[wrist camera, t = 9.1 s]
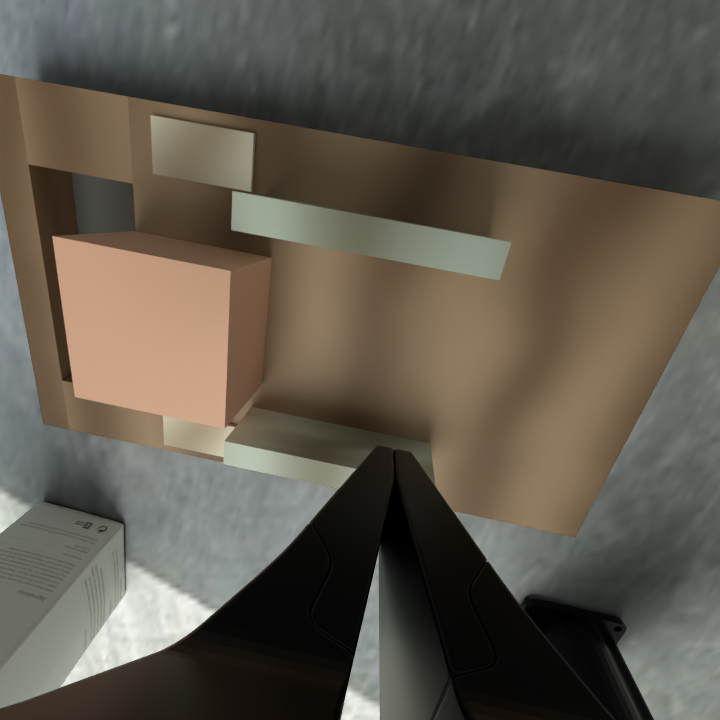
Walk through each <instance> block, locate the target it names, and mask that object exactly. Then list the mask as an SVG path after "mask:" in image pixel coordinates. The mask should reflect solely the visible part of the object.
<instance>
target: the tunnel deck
mask: <svg viewBox="0 0 720 720" xmlns="http://www.w3.org/2000/svg"><path fill="white" fill-rule="evenodd" d="M0 193H1V199H2V204H3V209H4V215H5V220H6V225H7V231H8V236H9V241H10V247H11V252H12V257H13V263H14V268H15V273H16V279H17V284H18V290H19V295H20V300H21V306H22V311H23V316H24V322H25V327H26V332H27V338H28V343H29V348H30V354H31V359H32V364H33V370H34V375H35V381H36V386H37V391H38V397H39V402H40V407H41V413H42V418H43V423H44V424H46V425H51V426H55V427H60V428H65V429H69V430H74V431H79V432H84V433H88V434H93V435H98V436H102V437H107V438H112V439H117V440H121V441H126V442H131V443H135V444H140V445H145V446H149V447H154V448H159V449H164V450H168V451H173V452H178V453H182V454H187V455H192V456H197V457H201V458H206V459H211V460H215V461H220V462H223V464H225V465H230V466H235V467H240V468H244V469H249V470H254V471H258V472H263V473H268V474H272V475H277V476H282V477H287V478H291V479H296V480H301V481H305V482H310V483H315V484H319V485H324V486H329V487H334V488H338V489H339V488H340V487H341V486H342V485H343V483H344V482H345V481H346V480H347V479H348V478H349V477H350V475H351V474H352V473H353V472H354V471H355V470H356V468H357V467H358V466H359V465H360V464H361V463H362V462H363V460H364V459H365V458H366V457H367V456H368V455H369V453H370V452H371V451H372V450H373V449H374V448H375V447H376V446H377V445H381V446H386V447H391V448H393V450H395V449H401V450H406V451H410V452H412V454H413V455H414V456H415V458H416V459H417V461H418V462H419V463H420V465H421V466H422V468H423V469H424V471H425V472H426V473H427V475H428V476H429V478H430V479H431V481H432V482H433V483H434V485H435V486H436V488H437V489H438V491H439V492H440V493H441V495H442V496H443V498H444V499H445V501H446V502H447V503H448V505H449V506H450V508H451V509H452V510H453V511H455V512H460V513H465V514H469V515H474V516H479V517H484V518H488V519H493V520H498V521H502V522H507V523H512V524H517V525H521V526H526V527H531V528H535V529H540V530H545V531H549V532H554V533H559V534H564V535H568V536H573V537H576V535H577V533H578V531H579V529H580V527H581V525H582V524H583V522H584V520H585V518H586V516H587V514H588V512H589V510H590V509H591V507H592V505H593V503H594V501H595V499H596V497H597V495H598V493H599V492H600V490H601V488H602V486H603V484H604V482H605V480H606V478H607V477H608V475H609V473H610V471H611V469H612V467H613V465H614V463H615V462H616V460H617V458H618V456H619V454H620V452H621V450H622V448H623V446H624V445H625V443H626V441H627V439H628V437H629V435H630V433H631V431H632V430H633V428H634V426H635V424H636V422H637V420H638V418H639V416H640V415H641V413H642V411H643V409H644V407H645V405H646V403H647V401H648V400H649V398H650V396H651V394H652V392H653V390H654V388H655V386H656V384H657V383H658V381H659V379H660V377H661V375H662V373H663V371H664V369H665V368H666V366H667V364H668V362H669V360H670V358H671V356H672V354H673V353H674V351H675V349H676V347H677V345H678V343H679V341H680V339H681V337H682V336H683V334H684V332H685V330H686V328H687V326H688V324H689V322H690V321H691V319H692V317H693V315H694V313H695V311H696V309H697V307H698V306H699V304H700V302H701V300H702V298H703V296H704V294H705V292H706V290H707V289H708V287H709V285H710V283H711V281H712V279H713V277H714V275H715V274H716V272H717V270H718V268H719V266H720V201H719V200H713V199H708V198H702V197H696V196H691V195H685V194H679V193H674V192H668V191H662V190H657V189H651V188H645V187H640V186H634V185H628V184H622V183H617V182H611V181H605V180H600V179H594V178H588V177H583V176H577V175H571V174H566V173H560V172H554V171H549V170H543V169H537V168H531V167H526V166H520V165H514V164H509V163H503V162H497V161H492V160H486V159H480V158H475V157H469V156H463V155H458V154H452V153H446V152H440V151H435V150H429V149H423V148H418V147H412V146H406V145H401V144H395V143H389V142H384V141H378V140H372V139H367V138H361V137H355V136H350V135H344V134H338V133H332V132H327V131H321V130H315V129H310V128H304V127H298V126H293V125H287V124H281V123H276V122H270V121H264V120H259V119H253V118H247V117H241V116H236V115H230V114H224V113H219V112H213V111H207V110H202V109H196V108H190V107H185V106H179V105H173V104H168V103H162V102H156V101H151V100H145V99H139V98H133V97H128V96H122V95H116V94H111V93H105V92H99V91H94V90H88V89H82V88H77V87H71V86H65V85H60V84H54V83H48V82H42V81H37V80H31V79H25V78H20V77H14V76H8V75H3V74H0ZM132 231H136V232H141V233H147V234H152V235H157V236H162V237H167V238H172V239H178V240H183V241H188V242H193V243H198V244H203V245H209V246H214V247H219V248H224V249H229V250H234V251H240V252H245V253H250V254H255V255H260V256H265V257H271V258H272V263H271V276H270V289H269V301H268V314H267V327H266V339H265V352H264V365H263V378H262V385H261V386H260V387H259V388H258V390H257V391H256V392H255V393H254V394H253V396H252V397H251V398H250V399H249V400H248V402H247V403H246V404H245V405H244V406H243V408H242V409H241V410H240V411H239V412H238V414H237V415H236V416H235V417H234V418H233V419H232V421H231V422H230V423H229V424H228V425H227V427H226V428H225V429H224V428H219V427H214V426H209V425H205V424H200V423H195V422H190V421H186V420H181V419H176V418H172V417H167V416H162V415H157V414H153V413H148V412H143V411H139V410H134V409H129V408H124V407H120V406H115V405H110V404H106V403H101V402H96V401H91V400H87V399H82V398H77V397H75V394H74V387H73V380H72V373H71V366H70V359H69V352H68V345H67V337H66V330H65V323H64V316H63V309H62V302H61V295H60V288H59V281H58V273H57V266H56V259H55V252H54V245H53V238H52V236H62V235H79V234H97V233H114V232H132Z"/></svg>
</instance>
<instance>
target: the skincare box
mask: <svg viewBox="0 0 720 720" xmlns="http://www.w3.org/2000/svg"><path fill="white" fill-rule="evenodd" d="M124 595H125V569H124V526H123V524H122V523H119V522H116V521H113V520H109V519H106V518H102V517H99V516H95V515H92V514H88V513H85V512H81V511H77V510H73V509H70V508H66V507H62V506H58V505H54V504H50V503H46V502H39V503H37V504H36V505H35V506H33V507H32V508H31V509H30V510H29V511H27V512H26V513H25V514H24V515H23V516H21V517H20V518H19V519H18V520H17V521H16V522H14V523H13V524H12V525H10V526H9V527H8V528H7V529H6V530H4V531H3V532H2V533H1V534H0V708H3V707H6V706H9V705H13V704H16V703H19V702H23V701H25V700H28V699H31V698H33V697H36V696H39V695H42V694H44V693H47V692H50V691H53V690H55V689H58V688H60V687H61V685H62V684H63V682H64V681H65V679H66V678H67V676H68V675H69V674H70V672H71V671H72V669H73V668H74V666H75V665H76V663H77V662H78V660H79V659H80V658H81V656H82V655H83V653H84V652H85V650H86V649H87V648H88V646H89V645H90V643H91V642H92V640H93V639H94V638H95V636H96V635H97V633H98V632H99V631H100V629H101V628H102V626H103V625H104V623H105V622H106V620H107V619H108V618H109V616H110V615H111V613H112V612H113V611H114V609H115V608H116V606H117V605H118V603H119V602H120V601H121V599H122V598H123V597H124Z"/></svg>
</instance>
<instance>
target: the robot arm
mask: <svg viewBox="0 0 720 720" xmlns="http://www.w3.org/2000/svg"><path fill="white" fill-rule="evenodd" d="M378 552H379V654H380V720H654V719H653V717H652V715H651V713H650V711H649V709H648V707H647V705H646V703H645V701H644V699H643V697H642V695H641V693H640V691H639V689H638V687H637V685H636V683H635V681H634V679H633V677H632V675H631V673H630V671H629V669H628V667H627V665H626V663H625V661H624V659H623V657H622V655H621V653H620V651H619V649H618V647H617V645H616V644H617V643H618V641H619V640H620V638H621V637H622V635H623V634H624V633H625V631H626V626H625V624H624V622H623V621H622V620H621V619H620V618H617V617H612V616H608V615H603V614H599V613H594V612H590V611H585V610H580V609H576V608H571V607H567V606H562V605H558V604H553V603H549V602H544V601H540V600H535V599H527V600H525V601H524V602H523V603H522V605H521V606H520V604H519V603H518V602H517V600H516V599H515V598H514V596H513V595H512V594H511V592H510V591H509V589H508V588H507V587H506V585H505V584H504V583H503V581H502V580H501V579H500V577H499V576H498V574H497V573H496V572H495V570H494V569H493V567H492V566H491V564H490V563H489V562H486V561H487V560H486V558H485V556H484V555H483V553H482V552H481V550H480V549H479V548H478V546H477V545H476V543H475V542H474V540H473V539H472V538H471V536H470V535H469V533H468V532H467V530H466V529H465V528H464V526H463V525H462V523H461V522H460V520H459V519H458V518H457V516H456V515H455V513H454V512H453V510H452V509H451V508H450V506H449V505H448V503H447V502H446V501H445V499H444V498H443V496H442V495H441V493H440V492H439V491H438V489H437V488H436V486H435V485H434V483H433V482H432V481H431V479H430V478H429V476H428V475H427V473H426V472H425V471H424V469H423V468H422V466H421V465H420V463H419V462H418V461H417V459H416V458H415V456H414V455H413V454H412V452H410V451H406V450H401V449H395V450H393V448H391V447H386V446H381V445H377V446H376V447H375V448H374V449H373V450H372V451H371V452H370V453H369V455H368V456H367V457H366V458H365V459H364V460H363V462H362V463H361V464H360V465H359V466H358V467H357V468H356V470H355V471H354V472H353V473H352V474H351V475H350V477H349V478H348V479H347V480H346V481H345V482H344V483H343V485H342V486H341V487H340V488H339V489H338V490H337V492H336V493H335V494H334V495H333V496H332V497H331V498H330V500H329V501H328V502H327V503H326V504H325V505H324V507H323V508H322V509H321V510H320V511H319V512H318V513H317V515H316V516H315V517H314V518H313V519H312V520H311V522H310V524H308V525H307V526H306V527H305V528H304V529H303V530H302V532H301V533H300V534H299V535H298V536H297V537H296V538H295V539H294V540H293V542H292V543H291V544H290V545H289V546H288V547H287V548H286V549H285V550H284V551H283V552H282V553H281V554H280V555H279V556H278V557H277V558H276V559H275V560H274V561H273V562H271V563H270V564H269V565H268V566H267V567H266V568H265V569H264V570H263V571H262V572H261V573H260V574H258V575H257V576H256V577H255V578H254V579H253V580H252V581H250V582H249V583H248V584H247V585H246V586H245V587H244V588H242V589H241V590H240V591H239V592H238V593H237V594H236V595H234V596H233V597H232V598H231V599H230V600H229V601H228V602H226V603H225V604H224V605H223V606H222V607H221V608H220V609H218V610H217V611H216V612H215V613H214V614H213V615H212V616H210V617H209V618H208V619H207V620H206V621H205V622H203V623H202V624H201V625H200V626H199V627H197V628H196V629H195V630H194V631H192V632H191V633H190V634H188V635H187V636H185V637H184V638H182V639H181V640H179V641H178V642H176V643H174V644H173V645H171V646H169V647H167V648H165V649H163V650H161V651H159V652H156V653H154V654H151V655H148V656H146V657H143V658H140V659H137V660H135V661H132V662H129V663H126V664H124V665H121V666H118V667H115V668H113V669H110V670H107V671H105V672H102V673H99V674H96V675H94V676H91V677H88V678H85V679H83V680H80V681H77V682H74V683H72V684H69V685H66V686H64V687H61V688H58V689H55V690H53V691H50V692H47V693H44V694H42V695H39V696H36V697H33V698H31V699H28V700H25V701H23V702H19V703H16V704H13V705H9V706H6V707H3V708H0V720H341V715H342V710H343V705H344V700H345V695H346V691H347V686H348V682H349V677H350V673H351V669H352V664H353V659H354V655H355V651H356V647H357V643H358V638H359V634H360V630H361V625H362V621H363V617H364V612H365V608H366V604H367V599H368V595H369V591H370V586H371V582H372V578H373V573H374V569H375V565H376V560H377V556H378Z"/></svg>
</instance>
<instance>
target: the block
mask: <svg viewBox="0 0 720 720" xmlns="http://www.w3.org/2000/svg"><path fill="white" fill-rule="evenodd" d="M52 238H53V245H54V252H55V259H56V266H57V273H58V281H59V288H60V295H61V302H62V309H63V316H64V323H65V330H66V337H67V345H68V352H69V359H70V366H71V373H72V380H73V387H74V394H75V397H77V398H82V399H87V400H91V401H96V402H101V403H106V404H110V405H115V406H120V407H124V408H129V409H134V410H139V411H143V412H148V413H153V414H157V415H162V416H167V417H172V418H176V419H181V420H186V421H190V422H195V423H200V424H205V425H209V426H214V427H219V428H224V429H225V428H226V427H227V425H228V424H229V423H230V422H231V421H232V419H233V418H234V417H235V416H236V415H237V414H238V412H239V411H240V410H241V409H242V408H243V406H244V405H245V404H246V403H247V402H248V400H249V399H250V398H251V397H252V396H253V394H254V393H255V392H256V391H257V390H258V388H259V387H260V386H261V385H262V378H263V365H264V352H265V339H266V327H267V314H268V301H269V289H270V276H271V263H272V258H271V257H265V256H260V255H255V254H250V253H245V252H240V251H234V250H229V249H224V248H219V247H214V246H209V245H203V244H198V243H193V242H188V241H183V240H178V239H172V238H167V237H162V236H157V235H152V234H147V233H141V232H136V231H132V232H114V233H97V234H79V235H62V236H52Z"/></svg>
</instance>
